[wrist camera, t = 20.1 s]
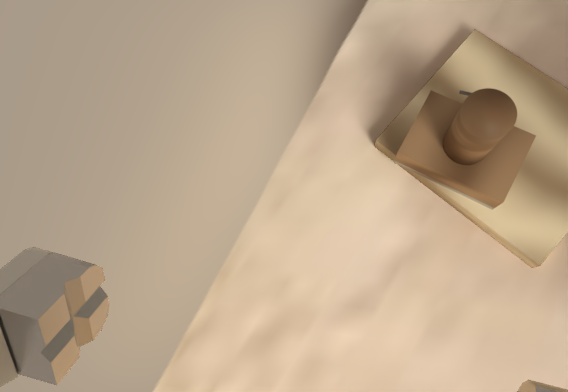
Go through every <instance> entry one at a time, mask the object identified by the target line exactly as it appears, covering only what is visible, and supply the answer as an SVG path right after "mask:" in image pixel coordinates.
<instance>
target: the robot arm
mask: <svg viewBox="0 0 568 392" xmlns="http://www.w3.org/2000/svg"><path fill="white" fill-rule="evenodd" d="M104 281H105V277H104V273H103V268H102V267H100V266H97V265H94V264H91V263H88V262H85V261H81V260H78V259H74V258H71V257H68V256H65V255H61V254H58V253H53V252H50V251H47V250H43V249H40V248H36V247H32V248H28V249H25V250H24V251H22V252H21V253H20V254H19V255H17V256H16V257H15V258H14V259H12V260H11V261H10V262H9V263H7V264H6V265H5V266H4V267H2V268H1V269H0V387H1V386H3V385H5V384H6V383H8V382H9V381H12V380H13V379H15V378H17V377H18V374H20V375H23V376H27V377H30V378H34V379H37V380H41V381H44V382H47V383H51V384H54V385H58V384H59V383H60V381H61V380H62V379H63V377H64V376H65V375H66V374H67V372H68V371H69V370H70V369H71V367H72V366H73V365H74V364H75V363H76V361H77V360H78V359H79V349H80V346H82V345H84V344H86V343H89V342H91V341H93V340H94V339H95V337H96V336H97V335H98V333H99V332H100V331H101V330H102V327H103V325H104V323H105V321H106V318H107V316H108V310H109V301H108V296H107V294H106V293H105V292H104V291H103V290H102V288H101V287H100V285H101V284H102V283H103V282H104ZM517 392H568V390H567V389H563V388H559V387H555V386H551V385H547V384H543V383H539V382H535V381H531V380H527V381H525V382H524V383H522V385H521V386H520V388H519V390H518V391H517Z"/></svg>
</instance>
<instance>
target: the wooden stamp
mask: <svg viewBox="0 0 568 392" xmlns="http://www.w3.org/2000/svg"><path fill="white" fill-rule="evenodd" d="M516 120H517V108H516V105H515V103H514V102H513V100H512V99H511V98H510V97H509V96H508V95H507V94H505V93H504V92H502V91H500V90H497V89H491V88H485V89H480V90H477V91H475V92H473V93H471V94H470V95H469V96H468V97H467V98H466V99H465V101H464V103H463V104H462V103H460V102H457V101H455V100H453V99H450V98H448V97H446V96H443V95H441V94H439V93H436V92H434V91H432V90H431V91H430V93H429V95H428V97H427V99H426V101H425V102H424V104H423V106H422V108H421V110H420V112H419V113H418V115H417V117H416V119H415V121H414V123H413V125H412V126H411V128H410V130H409V132H408V134H407V136H406V138H405V139H404V141H403V143H402V145H401V147H400V149H399V150H398V152H397V155H396V158H395V161H394V163H396V164H398V165H400V166H402V167H404V168H406V169H408V170H410V171H413V172H415V173H417V174H419V175H421V176H423V177H425V178H427V179H429V180H431V181H433V182H435V183H438V184H440V185H442V186H444V187H446V188H448V189H450V190H452V191H454V192H456V193H458V194H460V195H463V196H465V197H467V198H469V199H471V200H473V201H475V202H477V203H479V204H481V205H483V206H485V207H488V208H490V209H492V210H493V209H494V208H496V207H497V206H499V205H500V204H502V203H503V202H504V200H505V198H506V196H507V194H508V192H509V190H510V188H511V186H512V184H513V182H514V180H515V178H516V176H517V174H518V172H519V170H520V168H521V166H522V164H523V162H524V160H525V158H526V156H527V154H528V151H529V149H530V147H531V145H532V143H533V141H534V139H535V137H536V135H534V134H531V133H529V132H527V131H524V130H522V129H520V128H517V127H515V126H514V124H515V122H516Z"/></svg>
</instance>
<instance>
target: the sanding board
mask: <svg viewBox="0 0 568 392" xmlns="http://www.w3.org/2000/svg"><path fill="white" fill-rule="evenodd" d="M485 88H491V89H497V90H500V91H502V92H504V93H505V94H507V95H508V96H509V97H510V98H511V99H512V100H513V102H514V103H515V105H516V108H517V120H516V122H515V124H514V126H515V127H517V128H520V129H522V130H524V131H527V132H529V133H531V134H534V135H536V137H535V139H534V141H533V143H532V145H531V147H530V149H529V151H528V154H527V156H526V158H525V160H524V162H523V164H522V166H521V168H520V170H519V172H518V174H517V176H516V178H515V180H514V182H513V184H512V186H511V188H510V190H509V192H508V194H507V196H506V198H505V200H504V202H503V203H502V204H500V205H499V206H497V207H496V208H494V209H493V210H492V209H490V208H488V207H485V206H483V205H481V204H479V203H477V202H475V201H473V200H471V199H469V198H467V197H465V196H463V195H460V194H458V193H456V192H454V191H452V190H450V189H448V188H446V187H444V186H442V185H440V184H438V183H435V182H433V181H431V180H429V179H427V178H425V177H423V176H421V175H419V174H417V173H415V172H413V171H410V170H408V169H406V168H404V167H402V166H401V167H402V168H403V169H404V170H406V171H407V172H408V173H410V174H411V175H412V176H414V177H415V178H416V179H417V180H419V181H420V182H421V183H423V184H424V185H425V186H427V187H428V188H429V189H430V190H432V191H433V192H434V193H436V194H437V195H438V196H440V197H441V198H442V199H443V200H445V201H446V202H447V203H449V204H450V205H451V206H452V207H454V208H455V209H456V210H458V211H459V212H460V213H462V214H463V215H464V216H465V217H467V218H468V219H469V220H471V221H472V222H473V223H475V224H476V225H477V226H478V227H480V228H481V229H482V230H484V231H485V232H486V233H488V234H489V235H490V236H491V237H493V238H494V239H495V240H497V241H498V242H499V243H501V244H502V245H503V246H504V247H506V248H507V249H508V250H510V251H511V252H512V253H513V254H515V255H516V256H517V257H519V258H520V259H521V260H523V261H524V262H525V263H526V264H528V265H529V266H530V267H532V268H533V267H537V266H541V264H542V263H543V262H544V261H545V259H546V258H547V257H548V256H549V254H550V253H551V252H552V251H553V250H554V248H555V247H556V246H557V245H558V243H559V242H560V241H561V240H562V239H563V237H564V236H565V235H566V234H567V232H568V89H567V88H566V87H564V86H563V85H561V84H559V83H558V82H556V81H555V80H553V79H552V78H550V77H549V76H547V75H545V74H544V73H542V72H541V71H539V70H538V69H536V68H535V67H533V66H531V65H530V64H528V63H527V62H525V61H524V60H522V59H520V58H519V57H517V56H516V55H514V54H513V53H511V52H510V51H508V50H506V49H505V48H503V47H502V46H500V45H499V44H497V43H496V42H494V41H492V40H491V39H489V38H488V37H486V36H485V35H483V34H482V33H480V32H478V31H477V30H474V31H473V32H472V33H471V34H470V35H469V36H468V38H467V39H466V40H465V41H464V42H463V43H462V44H461V45H460V46H459V48H458V49H457V50H456V51H455V52H454V53H453V54H452V55H451V57H450V58H449V59H448V60H447V61H446V62H445V63H444V64H443V66H442V67H441V68H440V69H439V70H438V71H437V72H436V73H435V74H434V76H433V77H432V78H431V79H430V80H429V81H428V82H427V83H426V85H425V86H424V87H423V88H422V89H421V90H420V91H419V92H418V93H417V95H416V96H415V97H414V98H413V99H412V100H411V101H410V102H409V104H408V105H407V106H406V107H405V108H404V109H403V110H402V111H401V112H400V114H399V115H398V116H397V117H396V118H395V119H394V120H393V121H392V123H391V124H390V125H389V126H388V127H387V128H386V129H385V130H384V132H383V133H382V134H381V135H380V136H379V137H378V138H377V139H376V142H375V147H376V148H377V149H379V150H380V151H381V152H382V153H384V154H385V155H386V156H388V157H389V158H390V159H391V160H393V161H395V158H396V155H397V152H398V150H399V149H400V147H401V145H402V143H403V141H404V139H405V138H406V136H407V134H408V132H409V130H410V128H411V126H412V125H413V123H414V121H415V119H416V117H417V115H418V113H419V112H420V110H421V108H422V106H423V104H424V102H425V101H426V99H427V97H428V95H429V93H430V91H431V90H432V91H434V92H436V93H439V94H441V95H443V96H446V97H448V98H450V99H453V100H455V101H457V102H460V103H462V104H463V103H464V101H465V99H466V98H467V97H468V96H469V95H470V94H471V93H473V92H475V91H477V90H480V89H485ZM399 166H400V165H399Z"/></svg>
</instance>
